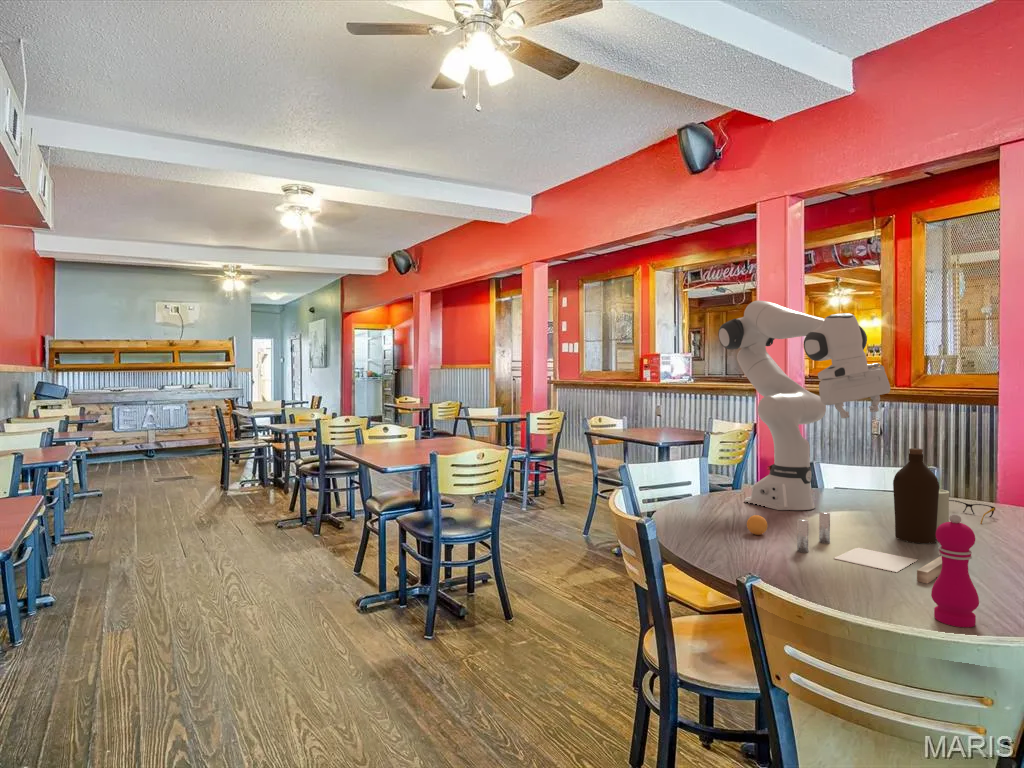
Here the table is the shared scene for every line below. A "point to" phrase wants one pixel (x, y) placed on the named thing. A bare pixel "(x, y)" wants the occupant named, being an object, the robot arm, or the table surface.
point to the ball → (757, 524)
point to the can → (943, 507)
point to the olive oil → (916, 500)
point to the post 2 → (824, 527)
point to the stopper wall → (930, 571)
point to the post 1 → (802, 535)
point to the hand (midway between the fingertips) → (860, 414)
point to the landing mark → (876, 559)
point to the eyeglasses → (978, 504)
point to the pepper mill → (955, 575)
